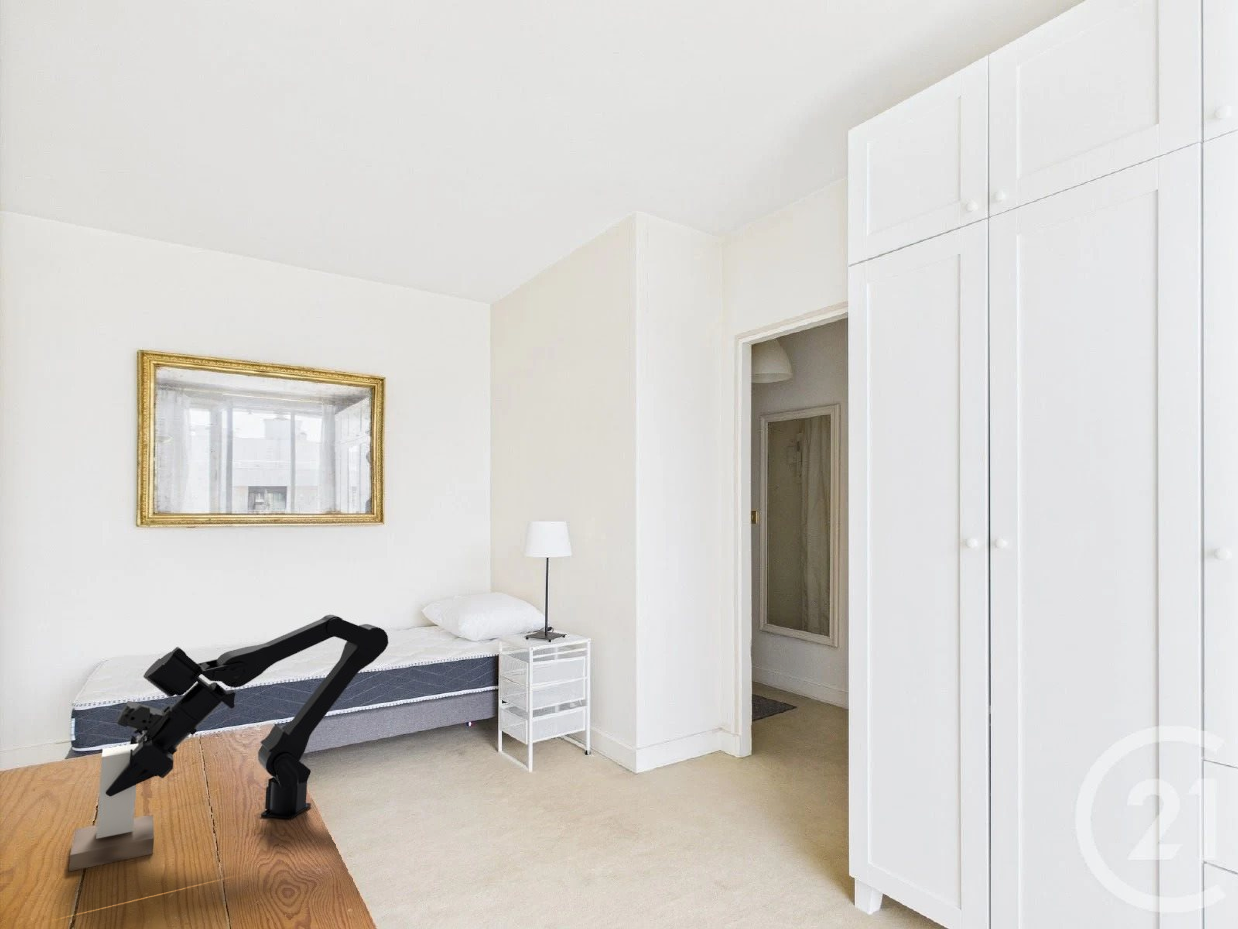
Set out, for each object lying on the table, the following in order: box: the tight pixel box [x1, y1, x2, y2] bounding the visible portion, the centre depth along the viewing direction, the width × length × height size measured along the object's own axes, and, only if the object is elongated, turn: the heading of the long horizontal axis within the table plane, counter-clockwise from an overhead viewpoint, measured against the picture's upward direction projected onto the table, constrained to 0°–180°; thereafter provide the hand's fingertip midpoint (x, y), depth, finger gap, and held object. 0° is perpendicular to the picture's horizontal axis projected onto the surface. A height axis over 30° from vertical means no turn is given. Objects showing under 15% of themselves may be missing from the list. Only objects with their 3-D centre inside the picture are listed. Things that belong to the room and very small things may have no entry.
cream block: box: [96, 744, 138, 839], centre depth 117 cm, size 5×5×13 cm
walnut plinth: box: [68, 814, 155, 872], centre depth 117 cm, size 11×11×2 cm
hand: (108, 789), depth 117 cm, fingers closed on cream block, 5 cm apart
